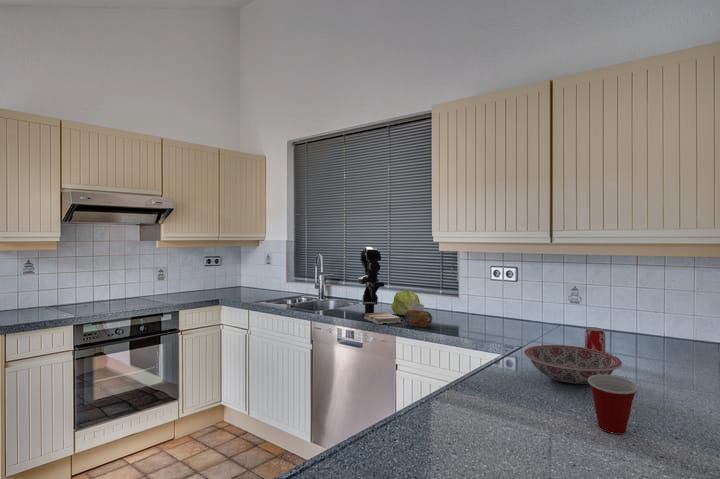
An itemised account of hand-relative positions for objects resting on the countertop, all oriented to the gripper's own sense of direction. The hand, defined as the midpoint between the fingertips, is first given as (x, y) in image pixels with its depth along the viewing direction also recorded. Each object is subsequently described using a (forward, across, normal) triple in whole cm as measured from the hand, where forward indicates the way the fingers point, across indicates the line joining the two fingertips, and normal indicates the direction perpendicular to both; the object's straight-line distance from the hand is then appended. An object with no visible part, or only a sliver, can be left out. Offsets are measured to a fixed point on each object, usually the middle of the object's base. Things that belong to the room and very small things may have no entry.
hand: (372, 297), depth 249 cm
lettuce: (+12, -1, +23) cm, 26 cm away
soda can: (+12, +108, +44) cm, 117 cm away
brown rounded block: (+12, +27, +14) cm, 33 cm away
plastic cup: (+12, +152, -6) cm, 153 cm away
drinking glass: (+12, +20, +18) cm, 29 cm away
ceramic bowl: (+12, +121, +16) cm, 123 cm away
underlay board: (+12, +6, +3) cm, 14 cm away
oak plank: (+11, +8, +3) cm, 14 cm away
